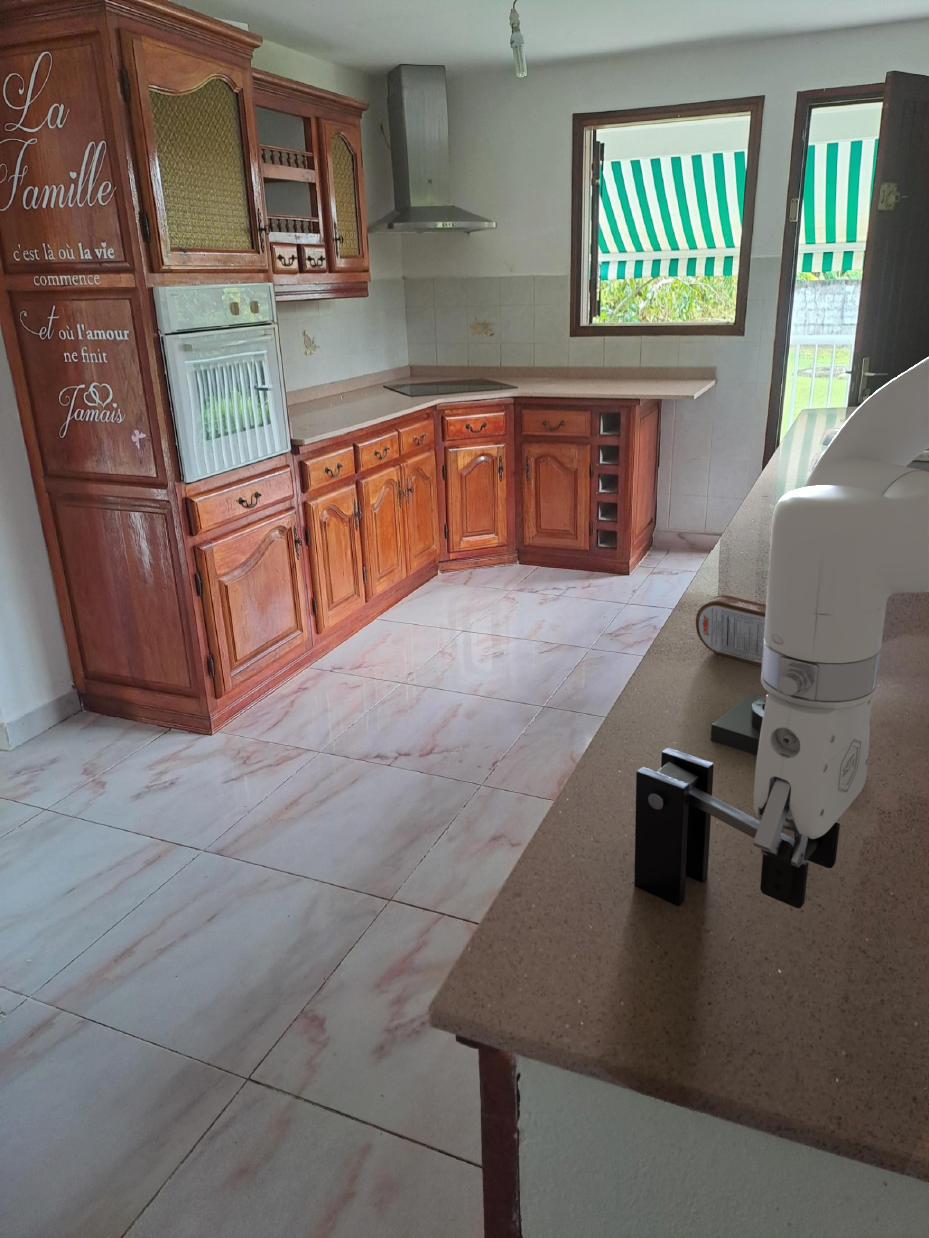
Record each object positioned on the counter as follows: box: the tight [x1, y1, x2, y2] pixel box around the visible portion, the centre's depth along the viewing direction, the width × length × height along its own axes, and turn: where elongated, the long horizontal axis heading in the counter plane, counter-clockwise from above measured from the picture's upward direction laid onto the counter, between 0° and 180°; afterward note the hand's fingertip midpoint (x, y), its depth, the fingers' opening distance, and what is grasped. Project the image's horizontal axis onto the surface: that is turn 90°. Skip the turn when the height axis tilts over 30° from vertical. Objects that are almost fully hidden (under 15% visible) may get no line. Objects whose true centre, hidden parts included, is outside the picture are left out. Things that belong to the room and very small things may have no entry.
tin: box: [695, 594, 766, 667], centre depth 120 cm, size 15×3×8 cm, turn 45°
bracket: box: [633, 747, 715, 907], centre depth 75 cm, size 11×9×13 cm
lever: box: [656, 762, 822, 862], centre depth 70 cm, size 13×5×2 cm, turn 48°
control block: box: [710, 692, 766, 757], centre depth 100 cm, size 12×10×4 cm
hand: (798, 877), depth 68 cm, fingers closed on lever, 5 cm apart
